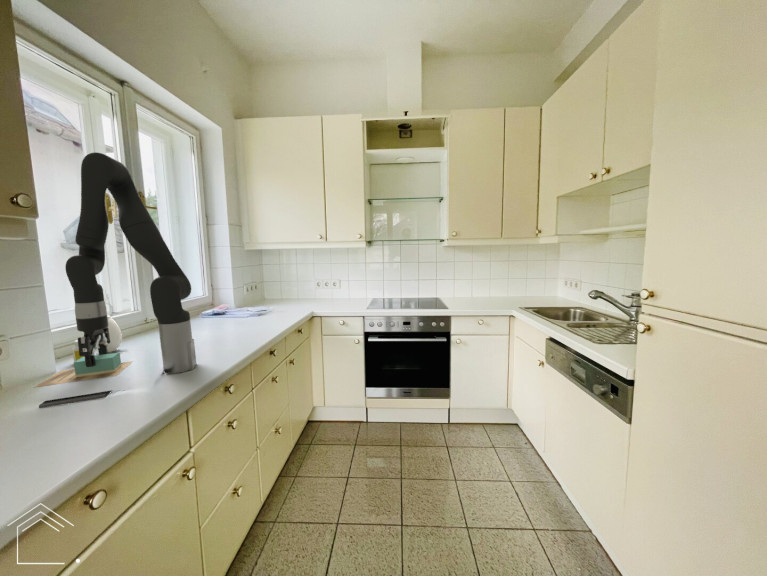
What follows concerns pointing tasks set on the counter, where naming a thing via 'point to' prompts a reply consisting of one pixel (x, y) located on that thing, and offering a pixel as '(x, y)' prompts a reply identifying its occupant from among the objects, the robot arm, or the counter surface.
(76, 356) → the supplement bottle
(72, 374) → the board
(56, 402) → the rubber mat
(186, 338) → the robot arm
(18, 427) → the counter surface
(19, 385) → the counter surface
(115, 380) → the counter surface
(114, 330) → the white vase
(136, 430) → the counter surface
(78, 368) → the block
